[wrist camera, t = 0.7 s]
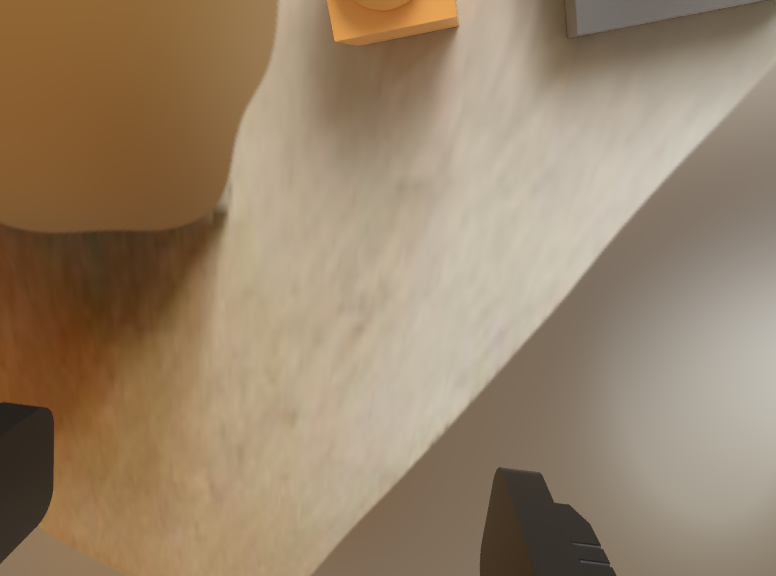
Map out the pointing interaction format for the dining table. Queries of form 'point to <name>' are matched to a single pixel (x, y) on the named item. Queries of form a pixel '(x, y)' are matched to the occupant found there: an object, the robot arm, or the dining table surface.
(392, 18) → the orange domed cube
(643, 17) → the button control panel
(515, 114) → the dining table surface
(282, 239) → the dining table surface
